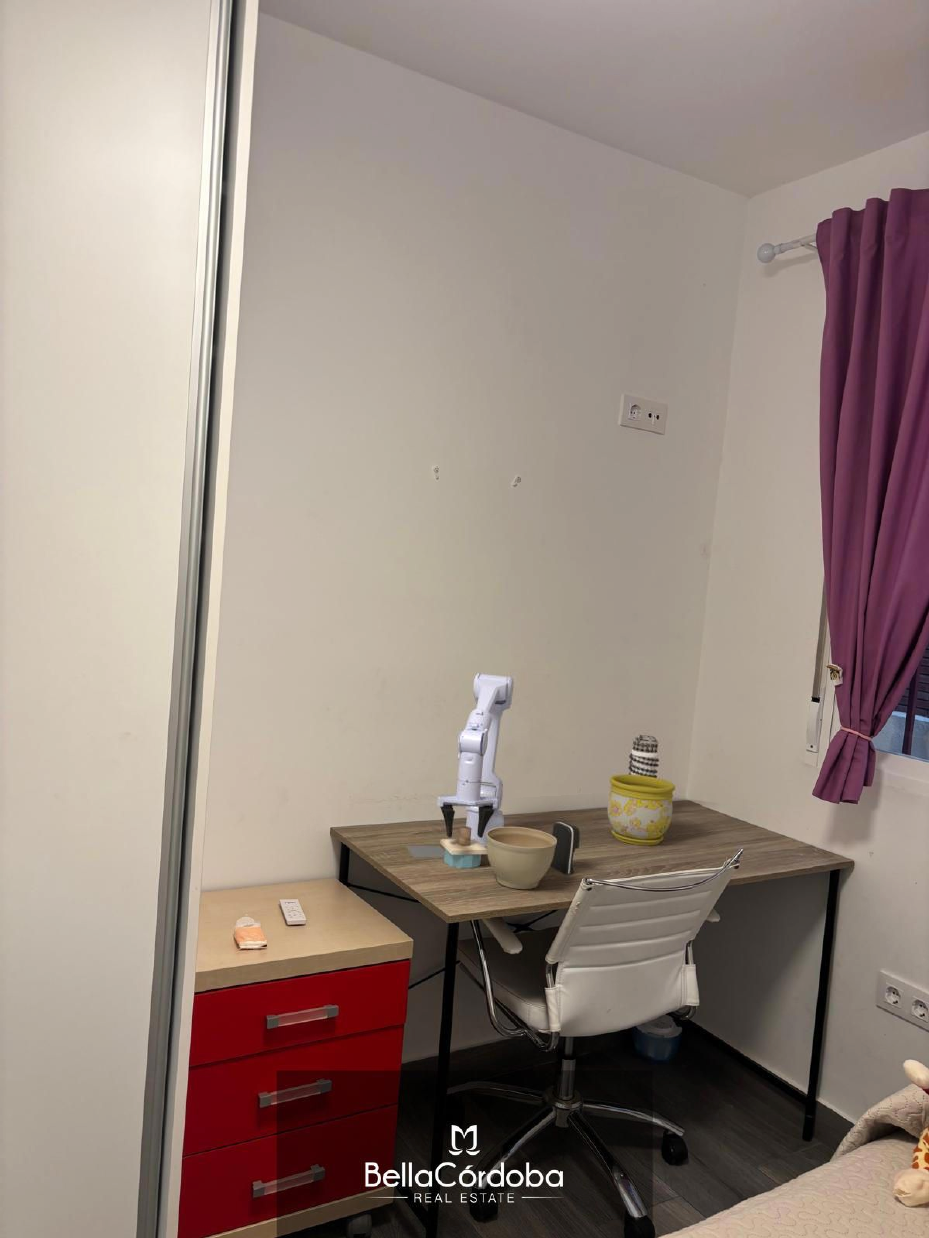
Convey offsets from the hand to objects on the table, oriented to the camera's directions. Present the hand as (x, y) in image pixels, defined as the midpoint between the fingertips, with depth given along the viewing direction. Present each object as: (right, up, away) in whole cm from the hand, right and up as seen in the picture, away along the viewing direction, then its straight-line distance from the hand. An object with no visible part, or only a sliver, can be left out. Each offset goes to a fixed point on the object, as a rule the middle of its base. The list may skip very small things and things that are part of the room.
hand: (464, 836), depth 224 cm
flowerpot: (+48, -10, +38) cm, 62 cm away
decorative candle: (+54, -9, +66) cm, 86 cm away
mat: (-9, -6, +7) cm, 13 cm away
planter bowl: (+12, -9, -10) cm, 18 cm away
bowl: (-1, -7, 0) cm, 7 cm away
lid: (0, -3, 0) cm, 3 cm away
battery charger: (+24, -9, +3) cm, 26 cm away
